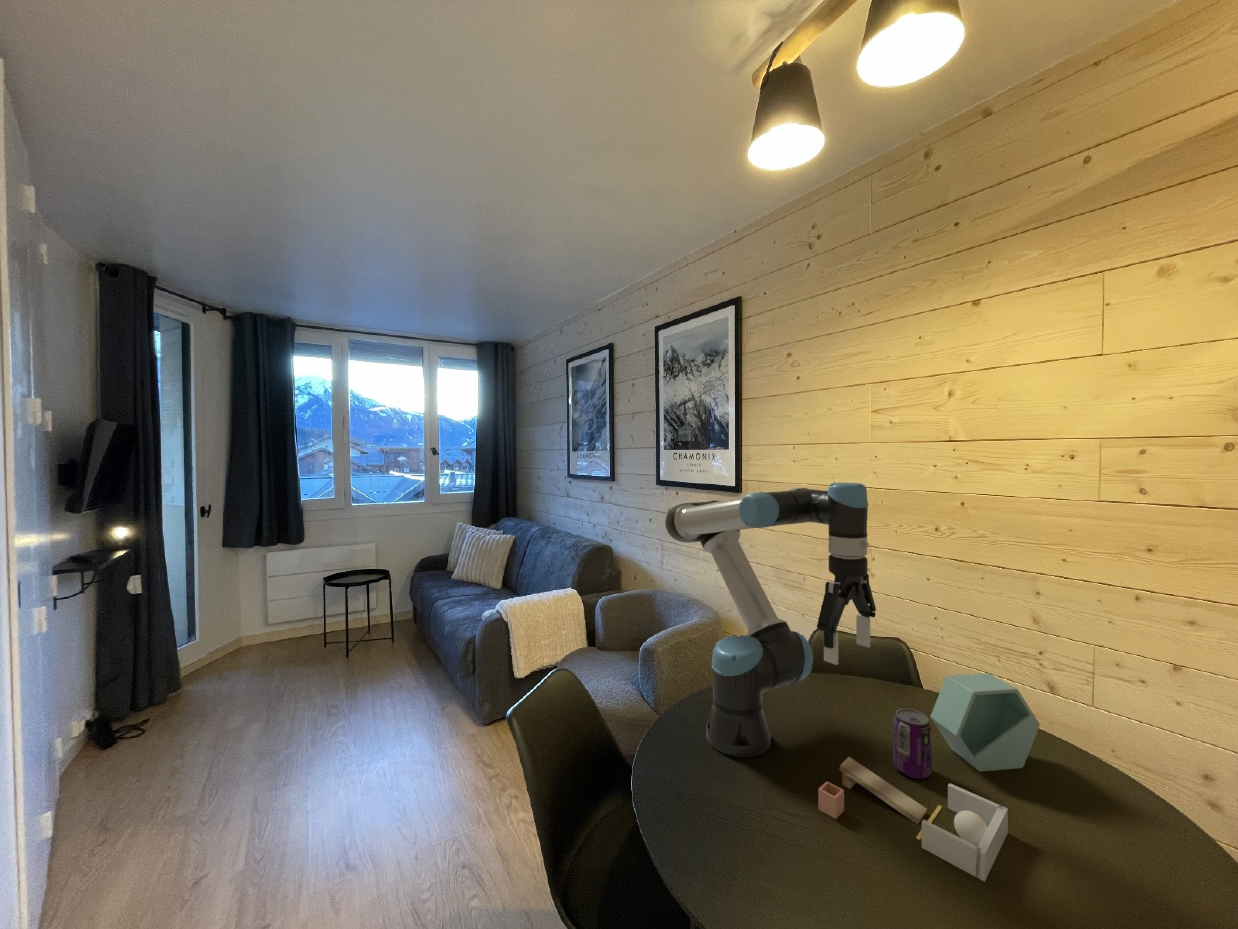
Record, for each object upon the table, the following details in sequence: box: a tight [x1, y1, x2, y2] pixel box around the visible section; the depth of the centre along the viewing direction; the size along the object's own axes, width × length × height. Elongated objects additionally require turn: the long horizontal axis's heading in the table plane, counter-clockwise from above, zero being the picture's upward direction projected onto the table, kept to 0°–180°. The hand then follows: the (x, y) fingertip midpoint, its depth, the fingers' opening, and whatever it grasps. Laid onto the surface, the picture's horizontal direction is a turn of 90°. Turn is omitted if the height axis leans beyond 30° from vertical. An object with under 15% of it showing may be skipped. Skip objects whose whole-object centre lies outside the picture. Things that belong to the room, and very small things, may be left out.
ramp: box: [838, 756, 928, 825], centre depth 97 cm, size 15×4×4 cm, turn 40°
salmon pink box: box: [817, 780, 845, 820], centre depth 94 cm, size 3×3×4 cm
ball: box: [953, 811, 988, 846], centre depth 86 cm, size 5×5×5 cm
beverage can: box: [892, 708, 933, 779], centre depth 105 cm, size 7×7×12 cm
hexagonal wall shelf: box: [929, 672, 1041, 772], centre depth 108 cm, size 17×8×21 cm
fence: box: [921, 783, 1009, 882], centre depth 86 cm, size 9×15×4 cm, turn 130°
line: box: [915, 804, 943, 841], centre depth 90 cm, size 1×12×1 cm, turn 130°
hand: (847, 653), depth 105 cm, fingers open, 13 cm apart
